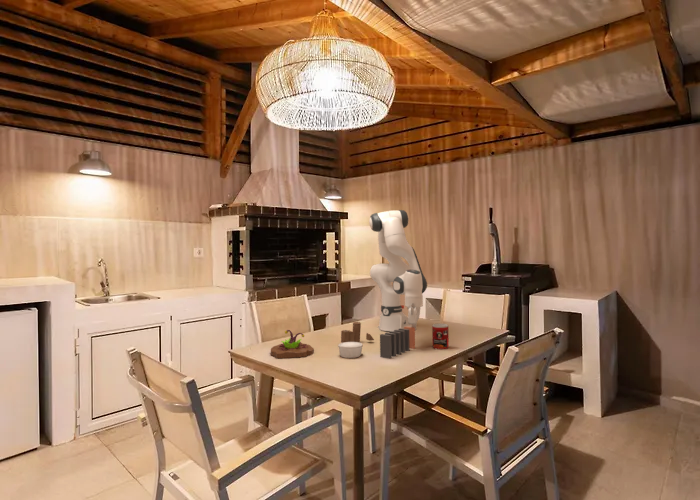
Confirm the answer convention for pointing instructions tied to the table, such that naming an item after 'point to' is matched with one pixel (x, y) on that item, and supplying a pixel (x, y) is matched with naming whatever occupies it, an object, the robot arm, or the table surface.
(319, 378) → the table surface
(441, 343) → the canned food
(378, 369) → the table surface
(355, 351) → the ramekin
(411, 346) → the tile
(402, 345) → the tile
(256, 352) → the table surface
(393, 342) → the tile
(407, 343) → the tile
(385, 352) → the tile
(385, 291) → the robot arm
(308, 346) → the plant
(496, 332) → the table surface
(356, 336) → the wooden block set
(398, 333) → the tile
